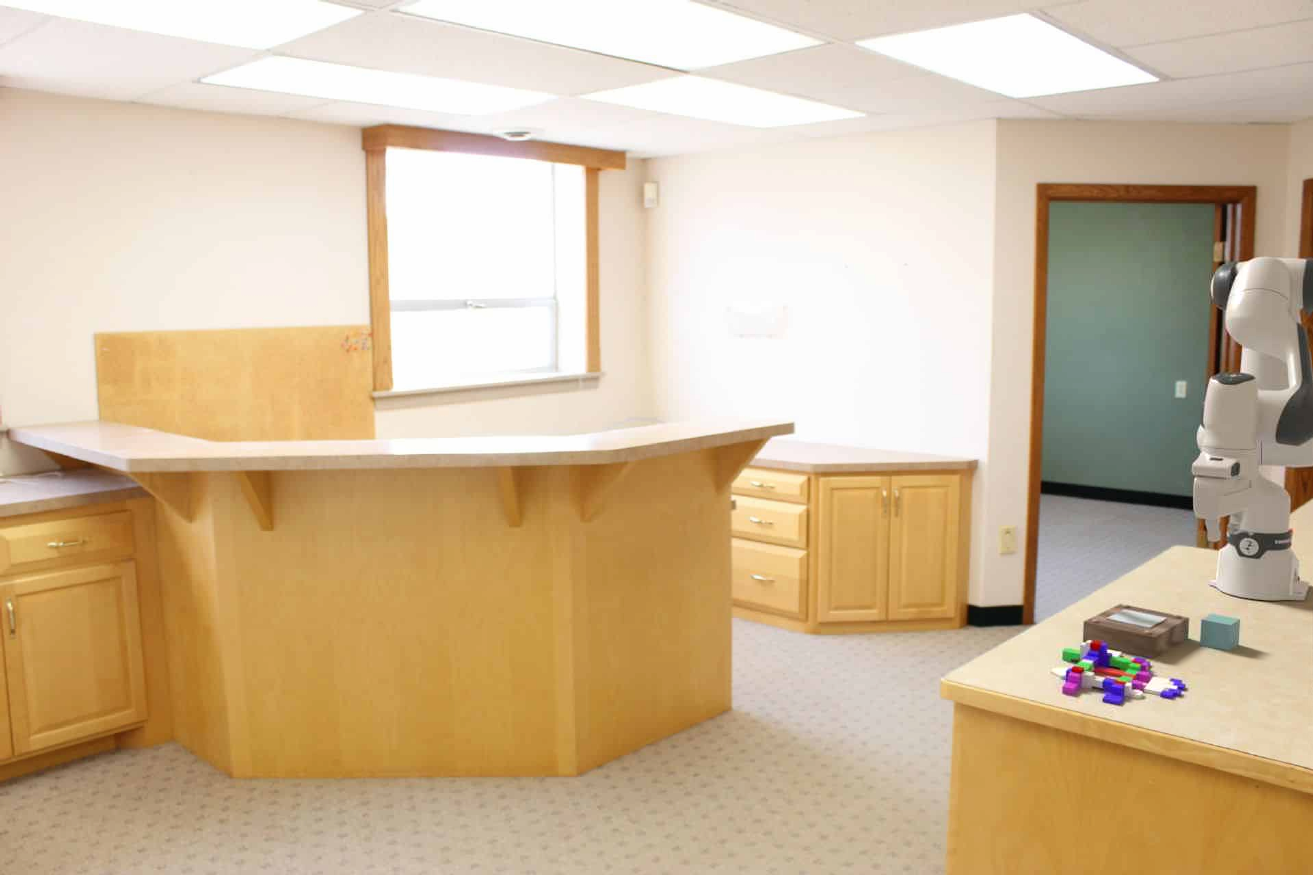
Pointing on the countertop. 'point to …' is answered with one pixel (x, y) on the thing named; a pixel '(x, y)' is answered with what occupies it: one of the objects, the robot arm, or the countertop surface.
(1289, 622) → the countertop surface
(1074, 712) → the countertop surface
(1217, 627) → the teal block
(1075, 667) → the building block set
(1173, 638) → the plinth
